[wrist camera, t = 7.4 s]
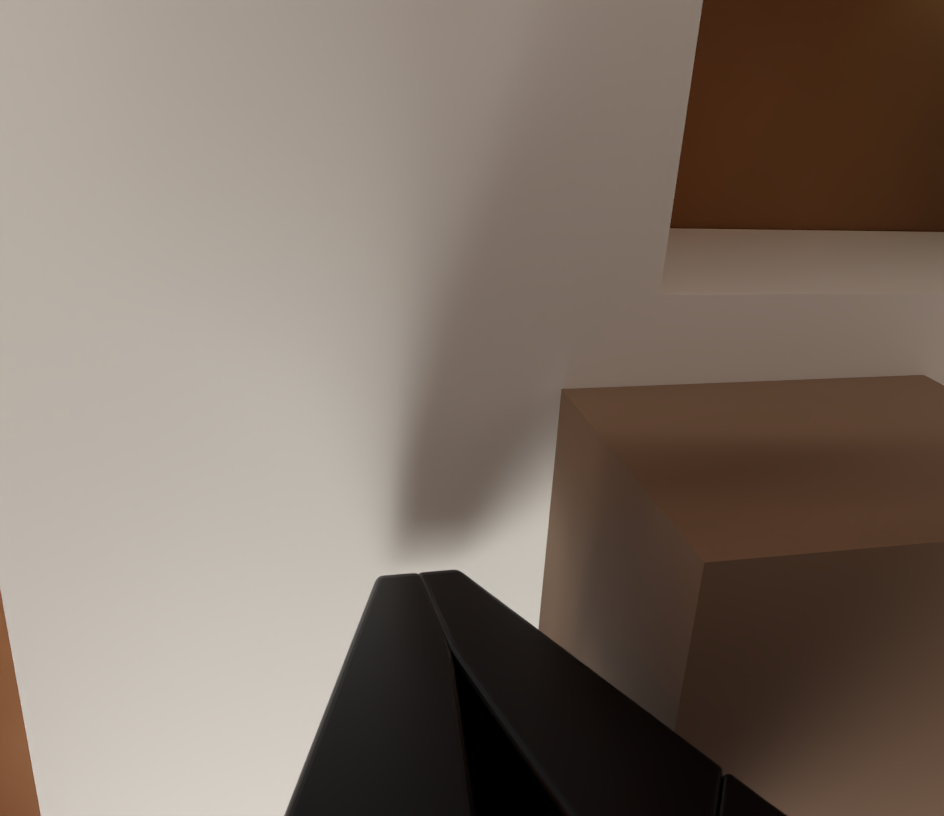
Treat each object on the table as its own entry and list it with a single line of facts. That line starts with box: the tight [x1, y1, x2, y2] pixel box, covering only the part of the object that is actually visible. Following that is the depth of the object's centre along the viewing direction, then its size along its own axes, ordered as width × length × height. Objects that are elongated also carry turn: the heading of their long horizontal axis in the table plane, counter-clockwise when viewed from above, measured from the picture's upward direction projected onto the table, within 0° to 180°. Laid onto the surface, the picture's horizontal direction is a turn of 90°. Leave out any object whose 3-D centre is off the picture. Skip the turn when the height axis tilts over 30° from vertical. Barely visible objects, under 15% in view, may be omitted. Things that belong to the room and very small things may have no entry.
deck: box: [0, 0, 944, 816], centre depth 11 cm, size 16×18×5 cm
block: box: [538, 375, 944, 816], centre depth 8 cm, size 4×4×3 cm
